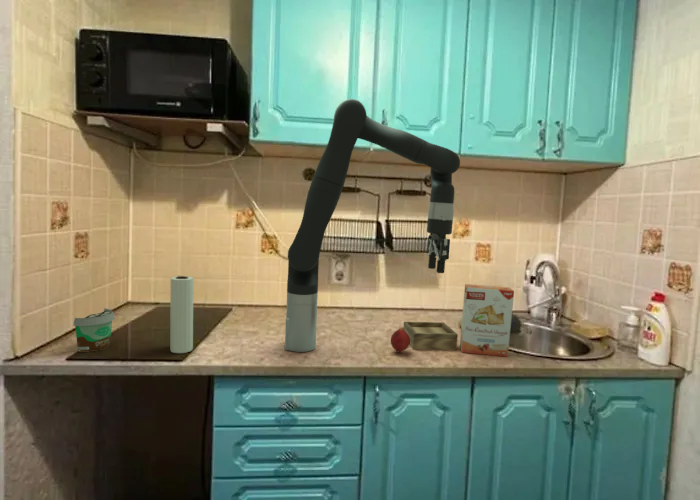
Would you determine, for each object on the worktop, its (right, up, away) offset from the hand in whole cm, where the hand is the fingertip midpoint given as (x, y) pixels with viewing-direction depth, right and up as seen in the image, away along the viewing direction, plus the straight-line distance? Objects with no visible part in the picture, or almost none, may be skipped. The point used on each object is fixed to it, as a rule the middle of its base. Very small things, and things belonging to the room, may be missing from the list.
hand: (435, 270), depth 133 cm
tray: (0, -24, +9) cm, 26 cm away
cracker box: (+15, -26, +2) cm, 30 cm away
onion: (-11, -25, -2) cm, 28 cm away
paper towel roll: (-75, -23, -8) cm, 79 cm away
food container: (-98, -22, -9) cm, 101 cm away
